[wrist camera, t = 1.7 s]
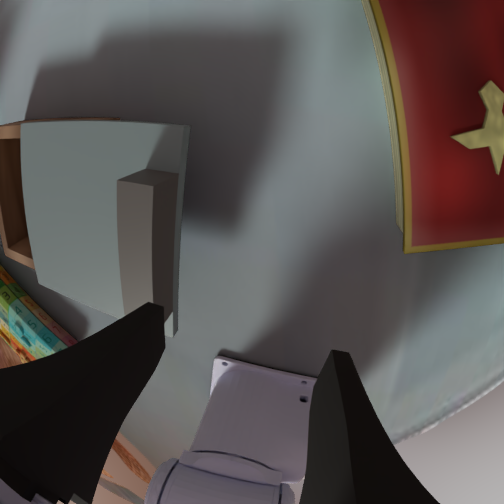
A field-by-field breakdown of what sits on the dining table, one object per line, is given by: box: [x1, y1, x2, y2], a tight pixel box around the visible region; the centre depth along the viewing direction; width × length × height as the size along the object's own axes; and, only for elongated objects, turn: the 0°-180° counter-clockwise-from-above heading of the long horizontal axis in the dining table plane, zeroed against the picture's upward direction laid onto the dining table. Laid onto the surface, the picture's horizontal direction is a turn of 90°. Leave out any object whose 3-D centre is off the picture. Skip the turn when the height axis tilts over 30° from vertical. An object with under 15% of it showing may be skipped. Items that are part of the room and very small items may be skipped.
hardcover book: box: [361, 0, 504, 254], centre depth 10 cm, size 12×21×4 cm, turn 12°
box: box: [0, 117, 120, 270], centre depth 19 cm, size 12×12×4 cm
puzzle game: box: [0, 265, 78, 363], centre depth 29 cm, size 12×5×20 cm
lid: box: [21, 120, 191, 338], centre depth 15 cm, size 12×12×3 cm
